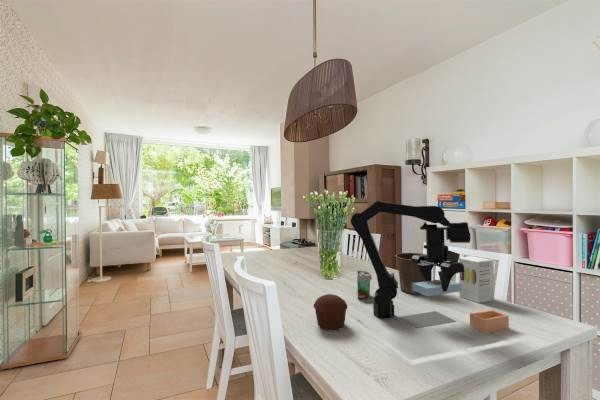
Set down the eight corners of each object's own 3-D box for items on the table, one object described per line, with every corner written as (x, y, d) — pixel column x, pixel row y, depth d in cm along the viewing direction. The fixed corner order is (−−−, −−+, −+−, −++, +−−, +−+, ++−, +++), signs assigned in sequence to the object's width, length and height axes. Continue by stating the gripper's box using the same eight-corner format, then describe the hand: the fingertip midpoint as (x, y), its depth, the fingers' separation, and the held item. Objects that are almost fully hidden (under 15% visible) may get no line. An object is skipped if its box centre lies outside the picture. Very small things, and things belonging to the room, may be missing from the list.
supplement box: (458, 296, 130) (457, 257, 130) (474, 293, 133) (473, 255, 133) (478, 303, 121) (477, 261, 121) (495, 300, 124) (494, 259, 124)
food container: (372, 301, 126) (372, 277, 126) (357, 300, 127) (357, 276, 127) (371, 292, 138) (371, 270, 138) (358, 291, 139) (357, 270, 139)
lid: (427, 296, 97) (426, 285, 97) (412, 290, 104) (412, 280, 104) (461, 291, 101) (461, 280, 101) (445, 285, 108) (445, 276, 108)
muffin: (351, 321, 106) (350, 292, 106) (343, 334, 96) (343, 303, 96) (319, 317, 110) (318, 289, 110) (308, 329, 100) (308, 299, 100)
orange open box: (485, 336, 92) (485, 320, 92) (470, 328, 98) (469, 313, 98) (508, 331, 95) (508, 315, 95) (492, 324, 101) (492, 309, 101)
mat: (416, 331, 97) (416, 328, 97) (398, 319, 106) (398, 316, 106) (456, 324, 101) (456, 321, 101) (435, 313, 111) (435, 311, 111)
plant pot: (436, 297, 129) (435, 259, 129) (396, 295, 133) (396, 258, 133) (430, 286, 145) (429, 253, 145) (395, 284, 149) (394, 252, 149)
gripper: (477, 244, 96) (479, 293, 96) (434, 238, 114) (436, 279, 114) (449, 247, 93) (450, 297, 93) (410, 240, 111) (411, 282, 111)
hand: (436, 288), depth 103 cm, fingers closed on lid, 7 cm apart
